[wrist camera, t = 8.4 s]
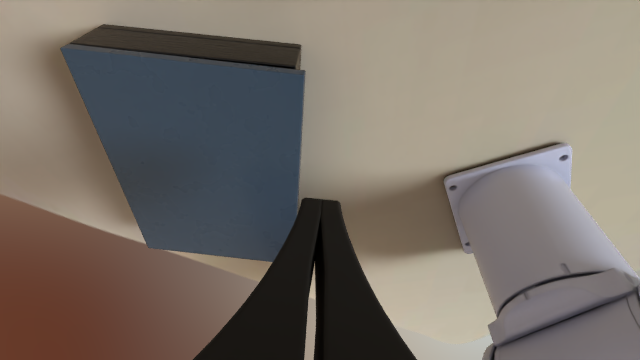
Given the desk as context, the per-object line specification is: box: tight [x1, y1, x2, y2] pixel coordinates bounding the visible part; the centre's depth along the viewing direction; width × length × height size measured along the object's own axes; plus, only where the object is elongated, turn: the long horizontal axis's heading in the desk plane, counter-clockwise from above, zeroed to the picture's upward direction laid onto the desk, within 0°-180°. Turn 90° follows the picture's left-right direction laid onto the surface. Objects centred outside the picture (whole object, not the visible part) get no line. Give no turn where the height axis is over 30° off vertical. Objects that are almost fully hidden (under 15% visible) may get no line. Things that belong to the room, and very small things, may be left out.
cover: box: [60, 44, 305, 262], centre depth 20 cm, size 11×15×1 cm
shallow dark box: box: [70, 24, 301, 70], centre depth 22 cm, size 11×15×3 cm
